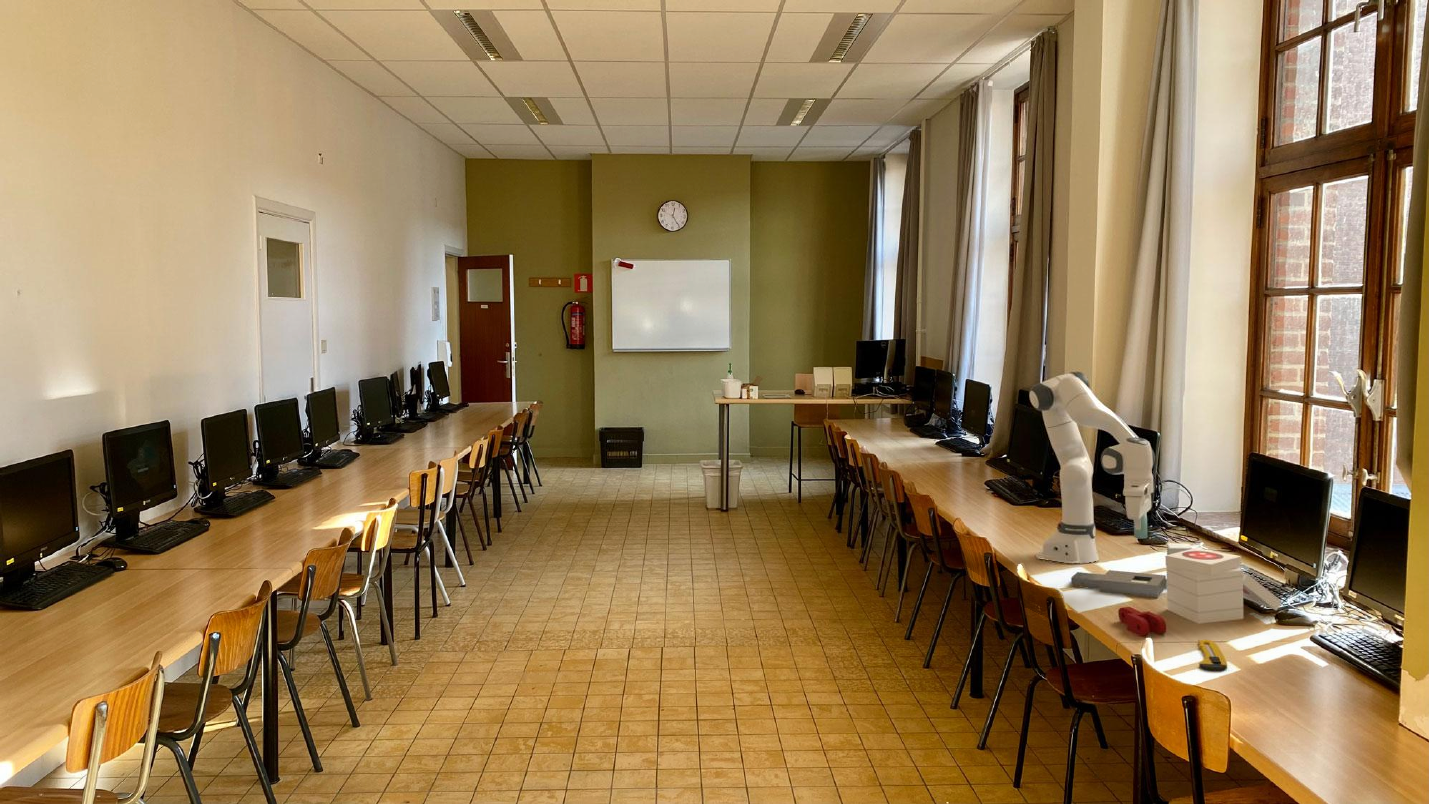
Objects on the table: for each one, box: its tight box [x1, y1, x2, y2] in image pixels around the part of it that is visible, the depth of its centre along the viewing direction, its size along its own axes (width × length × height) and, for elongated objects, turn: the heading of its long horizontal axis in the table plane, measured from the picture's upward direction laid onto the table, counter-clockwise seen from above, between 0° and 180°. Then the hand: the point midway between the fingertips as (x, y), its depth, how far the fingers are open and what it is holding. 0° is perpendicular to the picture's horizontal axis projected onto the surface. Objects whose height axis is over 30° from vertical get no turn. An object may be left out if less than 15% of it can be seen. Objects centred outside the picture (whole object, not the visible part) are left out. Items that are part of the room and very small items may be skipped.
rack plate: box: [1070, 569, 1167, 599], centre depth 322 cm, size 28×14×4 cm, turn 55°
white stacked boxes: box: [1165, 547, 1283, 625], centre depth 290 cm, size 19×30×18 cm, turn 98°
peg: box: [1133, 512, 1148, 540], centre depth 316 cm, size 4×4×8 cm
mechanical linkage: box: [1117, 606, 1167, 637], centre depth 280 cm, size 16×7×5 cm, turn 10°
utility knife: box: [1197, 639, 1228, 672], centre depth 255 cm, size 7×22×2 cm, turn 161°
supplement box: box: [1166, 542, 1194, 555], centre depth 325 cm, size 7×7×13 cm
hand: (1140, 527), depth 316 cm, fingers closed on peg, 4 cm apart
